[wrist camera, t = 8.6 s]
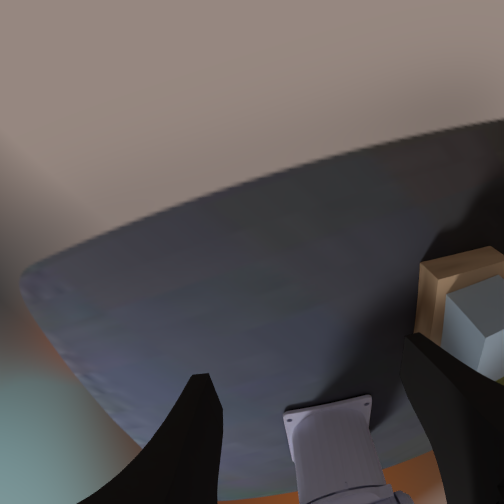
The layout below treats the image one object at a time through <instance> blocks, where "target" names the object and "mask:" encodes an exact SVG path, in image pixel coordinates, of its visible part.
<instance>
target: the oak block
mask: <svg viewBox="0 0 504 504" xmlns="http://www.w3.org/2000/svg"><path fill="white" fill-rule="evenodd" d="M496 275H499V276H501V277H502V278H503V279H504V255H503V254H502V253H500V252H499V251H497V250H496V249H494V248H493V247H491V246H487V247H483V248H479V249H475V250H471V251H467V252H463V253H458V254H454V255H450V256H446V257H441V258H437V259H433V260H428V261H424V262H420V272H419V287H418V299H417V309H416V318H415V326H414V333H418V332H420V333H421V334H423V335H424V336H426V337H427V338H429V339H430V340H431V341H433V342H434V343H435V344H437V345H438V346H441V339H442V331H443V323H444V313H445V302H446V294H448V293H451V292H454V291H457V290H459V289H462V288H465V287H467V286H470V285H473V284H475V283H478V282H481V281H483V280H486V279H488V278H491V277H493V276H496Z"/></svg>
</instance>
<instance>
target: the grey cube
mask: <svg viewBox="0 0 504 504" xmlns="http://www.w3.org/2000/svg"><path fill="white" fill-rule="evenodd" d="M440 347H441V348H442V349H444V350H445V351H447V352H448V353H449V354H451V355H452V356H454V357H455V358H457V359H458V360H460V361H461V362H463V363H464V364H466V365H467V366H469V367H471V368H472V369H474V370H476V371H477V372H479V373H481V374H482V375H484V376H486V377H488V378H490V379H492V380H494V381H496V380H498V379H500V378H502V377H504V279H503V278H502V277H501V276H499V275H496V276H493V277H491V278H488V279H486V280H483V281H481V282H478V283H475V284H473V285H470V286H467V287H465V288H462V289H459V290H457V291H454V292H451V293H448V294H446V302H445V313H444V323H443V331H442V339H441V346H440Z"/></svg>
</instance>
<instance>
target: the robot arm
mask: <svg viewBox="0 0 504 504" xmlns="http://www.w3.org/2000/svg"><path fill="white" fill-rule="evenodd" d="M400 377H401V380H402V383H403V386H404V388H405V391H406V394H407V397H408V399H409V401H410V403H411V405H412V407H413V409H414V411H415V413H416V415H417V416H418V418H419V420H420V422H421V424H422V426H423V428H424V430H425V433H426V435H427V437H428V439H429V441H430V443H431V446H432V448H433V451H434V454H435V457H436V460H437V463H438V467H439V470H440V474H441V478H442V482H443V486H444V490H445V495H446V500H447V504H504V385H502V384H500V383H498V382H496V381H494V380H492V379H490V378H488V377H486V376H484V375H482V374H481V373H479V372H477V371H476V370H474V369H472V368H471V367H469V366H467V365H466V364H464V363H463V362H461V361H460V360H458V359H457V358H455V357H454V356H452V355H451V354H449V353H448V352H447V351H445V350H444V349H442V348H441V347H440V346H438V345H437V344H435V343H434V342H433V341H431V340H430V339H429V338H427V337H426V336H424V335H423V334H421V333H420V332H418V333H414V334H411V335H407V336H405V340H404V348H403V356H402V363H401V369H400ZM371 405H372V397H371V395H363V396H359V397H355V398H351V399H347V400H342V401H338V402H333V403H329V404H324V405H319V406H314V407H308V408H303V409H297V410H291V411H286V412H284V413H283V419H284V424H285V428H286V433H287V438H288V442H289V447H290V452H291V456H292V461H293V462H295V468H296V477H297V485H298V494H299V503H300V504H414V502H413V500H412V499H411V497H410V496H409V495H408V494H406V493H403V492H402V491H397V492H394V493H393V490H392V487H391V485H390V484H387V485H386V481H385V478H384V475H383V471H382V468H381V465H380V462H379V458H378V455H377V452H376V449H375V446H374V443H373V440H372V437H371V434H370V431H369V421H370V413H371ZM222 438H223V408H222V405H221V403H220V401H219V398H218V396H217V393H216V391H215V388H214V386H213V383H212V381H211V378H210V375H209V373H206V374H196V375H192V376H191V377H190V379H189V381H188V383H187V384H186V386H185V388H184V390H183V391H182V393H181V395H180V397H179V398H178V400H177V402H176V403H175V405H174V406H173V408H172V410H171V411H170V413H169V414H168V416H167V417H166V419H165V420H164V422H163V423H162V425H161V426H160V428H159V429H158V430H157V432H156V433H155V434H154V436H153V437H152V438H151V440H150V441H149V442H148V444H147V445H146V446H145V447H144V448H143V450H142V451H141V452H140V453H139V454H138V455H137V456H136V457H135V459H133V460H132V461H131V462H130V464H128V465H127V466H126V467H125V468H124V469H123V470H122V471H121V472H120V473H119V474H118V475H117V476H116V477H114V478H113V479H112V480H111V481H110V482H108V483H107V484H106V485H104V486H103V487H102V488H101V489H99V490H98V491H97V492H95V493H94V494H92V495H90V496H89V497H87V498H86V499H84V500H82V501H81V502H79V503H77V504H217V485H218V474H219V465H220V456H221V447H222Z"/></svg>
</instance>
